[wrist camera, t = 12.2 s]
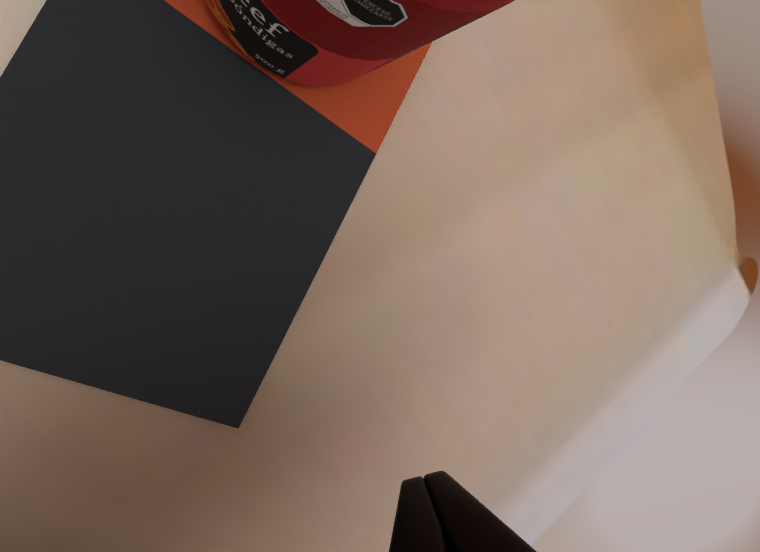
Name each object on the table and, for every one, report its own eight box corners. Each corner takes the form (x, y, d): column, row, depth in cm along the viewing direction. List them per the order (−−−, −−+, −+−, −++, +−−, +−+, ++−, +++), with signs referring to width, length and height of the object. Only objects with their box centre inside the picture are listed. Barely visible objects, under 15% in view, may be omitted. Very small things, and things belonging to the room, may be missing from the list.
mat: (237, 426, 19) (238, 428, 19) (-142, 316, 13) (-145, 318, 13) (374, 154, 21) (376, 153, 20) (82, -56, 15) (82, -59, 15)
